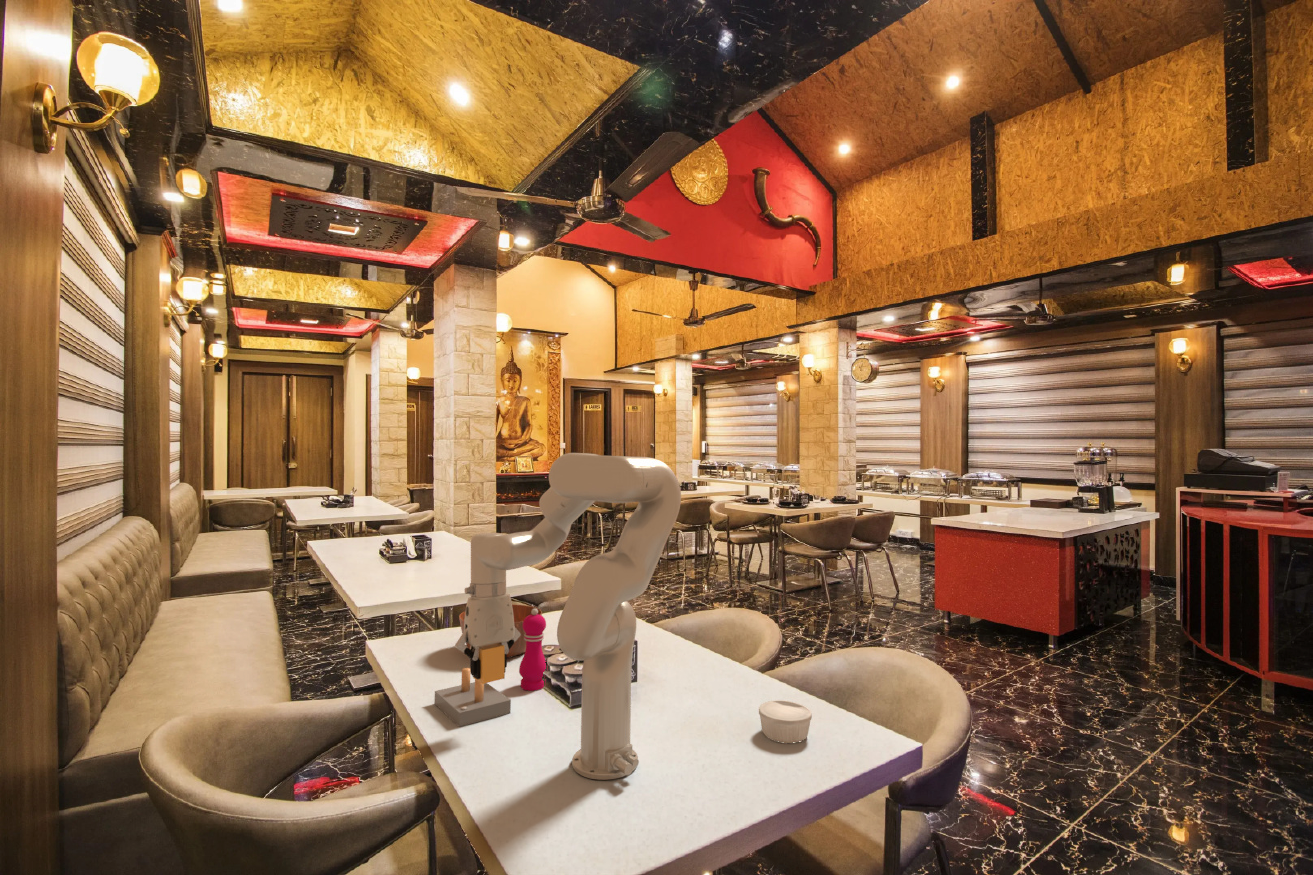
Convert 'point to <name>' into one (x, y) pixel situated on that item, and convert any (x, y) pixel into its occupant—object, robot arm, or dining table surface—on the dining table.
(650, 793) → the dining table surface
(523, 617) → the bowl
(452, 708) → the peg board base
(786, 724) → the ramekin
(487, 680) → the upright wooden block
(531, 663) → the pepper mill
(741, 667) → the dining table surface
